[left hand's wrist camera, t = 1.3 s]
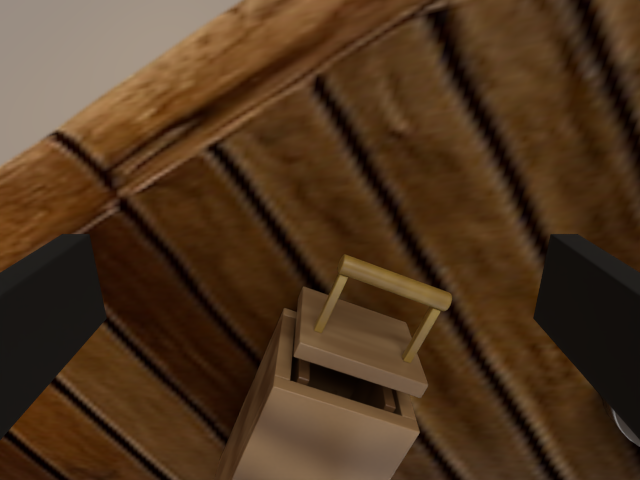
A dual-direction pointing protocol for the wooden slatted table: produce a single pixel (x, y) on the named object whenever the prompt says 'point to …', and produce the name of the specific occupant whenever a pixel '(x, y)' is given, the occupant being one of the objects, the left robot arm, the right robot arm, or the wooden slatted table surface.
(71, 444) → the wooden slatted table surface
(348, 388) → the drawer
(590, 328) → the left robot arm
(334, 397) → the cabinet
